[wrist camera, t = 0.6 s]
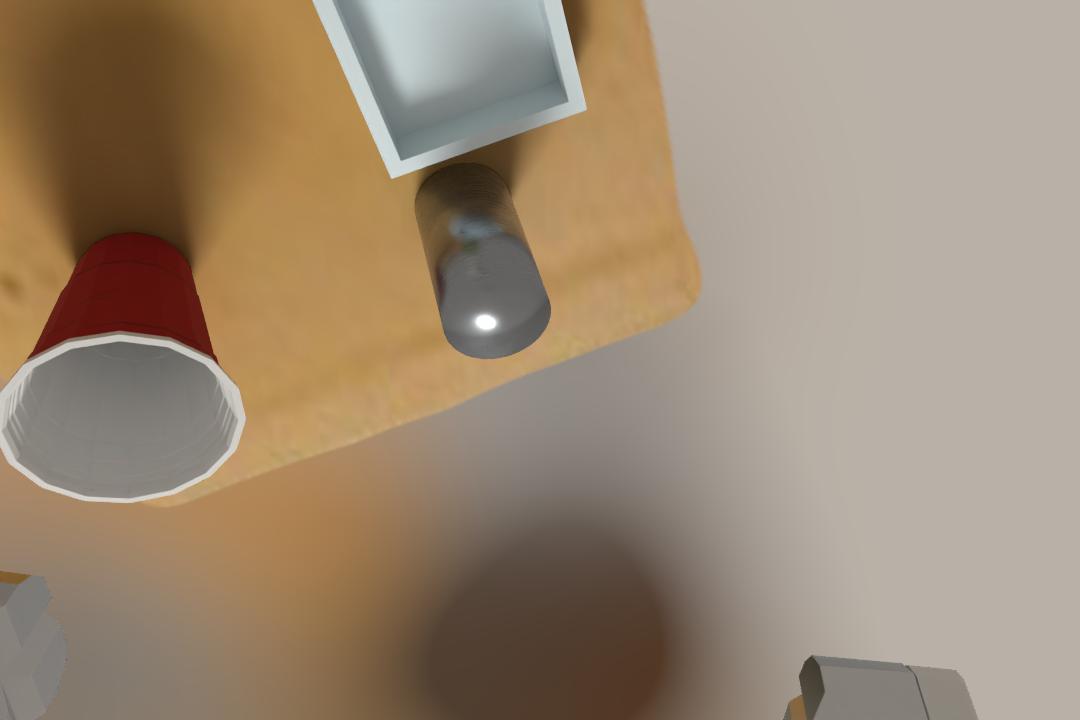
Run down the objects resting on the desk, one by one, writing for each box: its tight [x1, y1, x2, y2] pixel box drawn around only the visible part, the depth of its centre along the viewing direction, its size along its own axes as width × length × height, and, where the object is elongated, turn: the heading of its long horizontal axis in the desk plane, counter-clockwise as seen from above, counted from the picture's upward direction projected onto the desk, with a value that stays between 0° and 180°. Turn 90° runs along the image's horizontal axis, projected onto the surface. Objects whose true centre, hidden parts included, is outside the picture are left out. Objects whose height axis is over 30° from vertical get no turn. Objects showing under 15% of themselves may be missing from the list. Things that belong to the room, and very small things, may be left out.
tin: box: [415, 163, 551, 359], centre depth 51 cm, size 6×6×10 cm
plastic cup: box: [0, 233, 246, 503], centre depth 48 cm, size 11×11×12 cm
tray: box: [312, 0, 587, 179], centre depth 45 cm, size 11×11×3 cm
